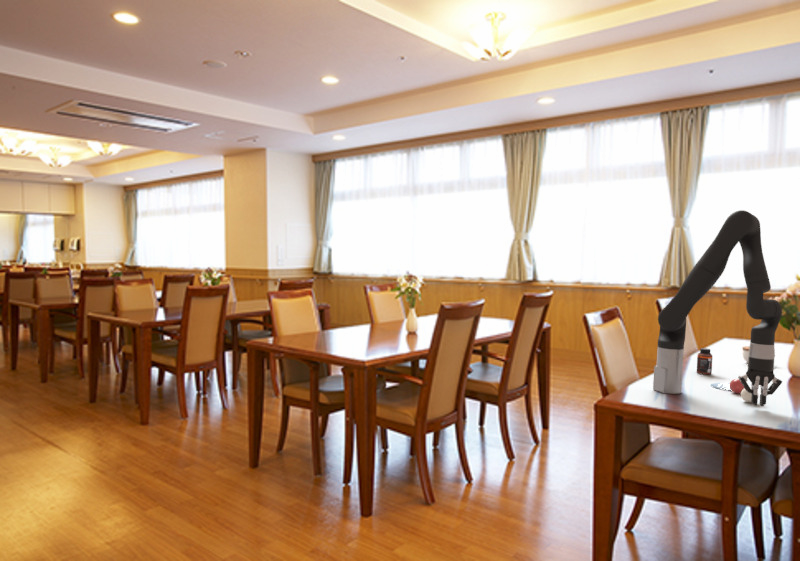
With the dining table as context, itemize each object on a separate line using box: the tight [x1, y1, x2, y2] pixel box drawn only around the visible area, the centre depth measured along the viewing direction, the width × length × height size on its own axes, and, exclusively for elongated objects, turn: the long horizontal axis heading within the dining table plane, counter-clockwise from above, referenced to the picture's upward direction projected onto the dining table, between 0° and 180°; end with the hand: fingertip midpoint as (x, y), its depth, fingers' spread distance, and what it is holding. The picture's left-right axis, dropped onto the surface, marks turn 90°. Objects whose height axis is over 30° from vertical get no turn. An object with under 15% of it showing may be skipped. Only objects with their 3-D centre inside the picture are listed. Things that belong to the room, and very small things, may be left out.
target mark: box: [710, 382, 731, 392], centre depth 226 cm, size 14×14×1 cm
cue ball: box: [740, 387, 759, 404], centre depth 204 cm, size 6×6×6 cm
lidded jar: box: [742, 345, 750, 364], centre depth 278 cm, size 11×11×9 cm
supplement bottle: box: [696, 347, 713, 376], centre depth 251 cm, size 6×6×11 cm
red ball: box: [729, 378, 744, 394], centre depth 217 cm, size 6×6×6 cm
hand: (758, 405), depth 195 cm, fingers closed
